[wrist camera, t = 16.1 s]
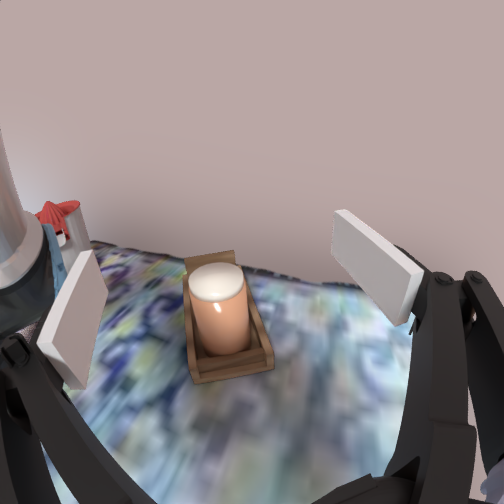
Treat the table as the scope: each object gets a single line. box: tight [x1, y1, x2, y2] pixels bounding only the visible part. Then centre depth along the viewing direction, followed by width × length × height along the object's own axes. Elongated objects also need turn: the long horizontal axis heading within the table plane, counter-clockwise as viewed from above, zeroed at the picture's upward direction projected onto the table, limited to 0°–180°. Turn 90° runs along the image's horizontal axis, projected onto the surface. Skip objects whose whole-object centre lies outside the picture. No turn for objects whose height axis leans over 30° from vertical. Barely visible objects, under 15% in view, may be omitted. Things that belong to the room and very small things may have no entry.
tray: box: [183, 250, 274, 384], centre depth 43 cm, size 22×11×7 cm, turn 13°
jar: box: [188, 262, 251, 358], centre depth 36 cm, size 7×7×12 cm
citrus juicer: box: [35, 201, 91, 275], centre depth 54 cm, size 16×17×20 cm
